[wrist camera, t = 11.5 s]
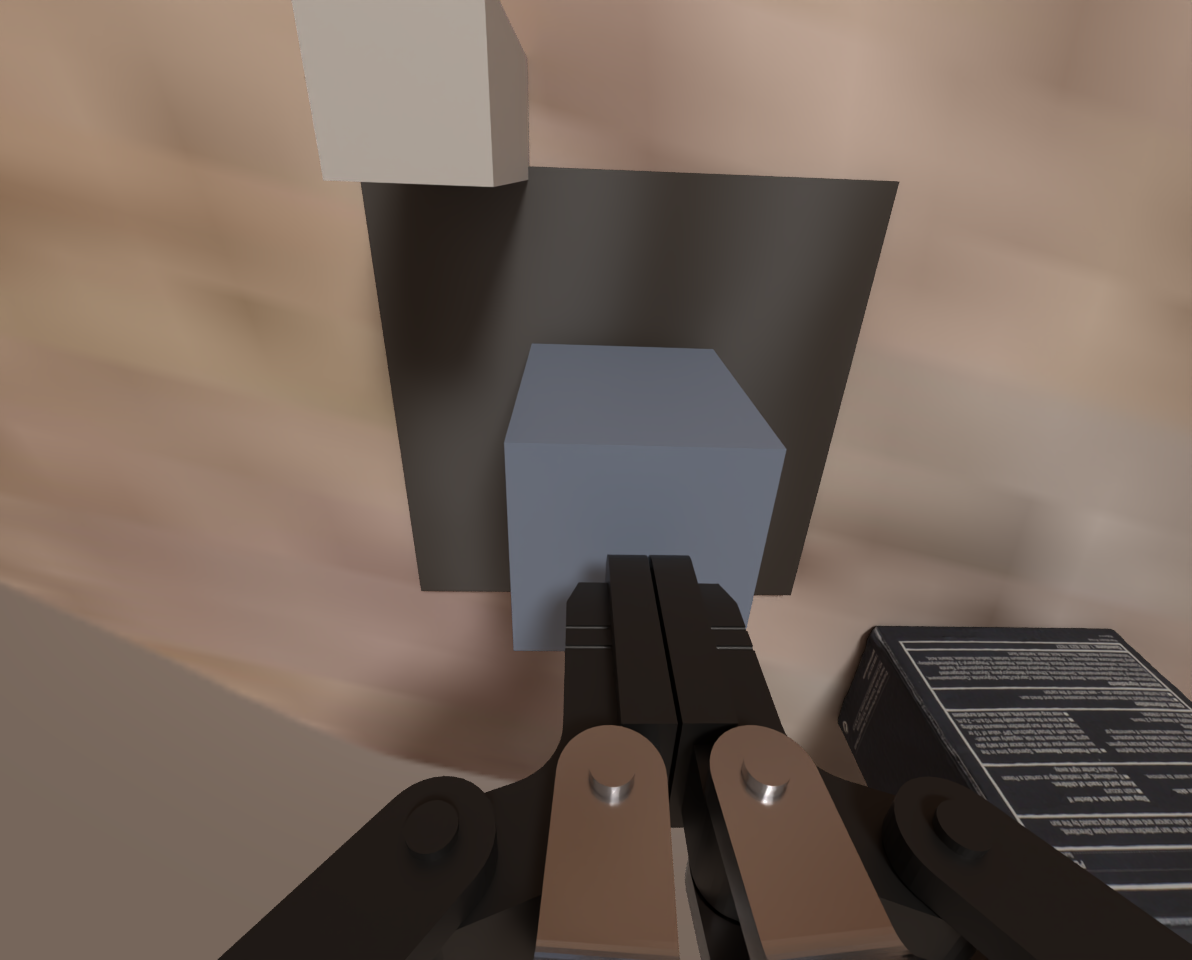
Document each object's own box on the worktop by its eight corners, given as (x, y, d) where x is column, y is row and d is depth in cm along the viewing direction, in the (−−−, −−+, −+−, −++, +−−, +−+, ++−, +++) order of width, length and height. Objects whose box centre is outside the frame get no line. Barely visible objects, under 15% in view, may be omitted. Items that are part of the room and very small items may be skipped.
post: (527, 58, 14) (483, -35, 7) (529, 179, 15) (493, 186, 9) (418, 52, 13) (284, -45, 7) (430, 175, 15) (323, 180, 9)
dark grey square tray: (892, 181, 15) (1105, 189, 9) (787, 588, 22) (867, 751, 16) (362, 159, 15) (204, 153, 8) (423, 583, 21) (360, 750, 15)
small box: (829, 726, 26) (964, 1029, 17) (868, 620, 23) (1060, 923, 14) (1049, 727, 26) (1298, 1024, 17) (1117, 624, 23) (1465, 920, 14)
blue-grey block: (712, 349, 16) (786, 449, 10) (691, 503, 19) (740, 653, 13) (531, 343, 16) (504, 441, 10) (534, 500, 18) (513, 650, 13)
